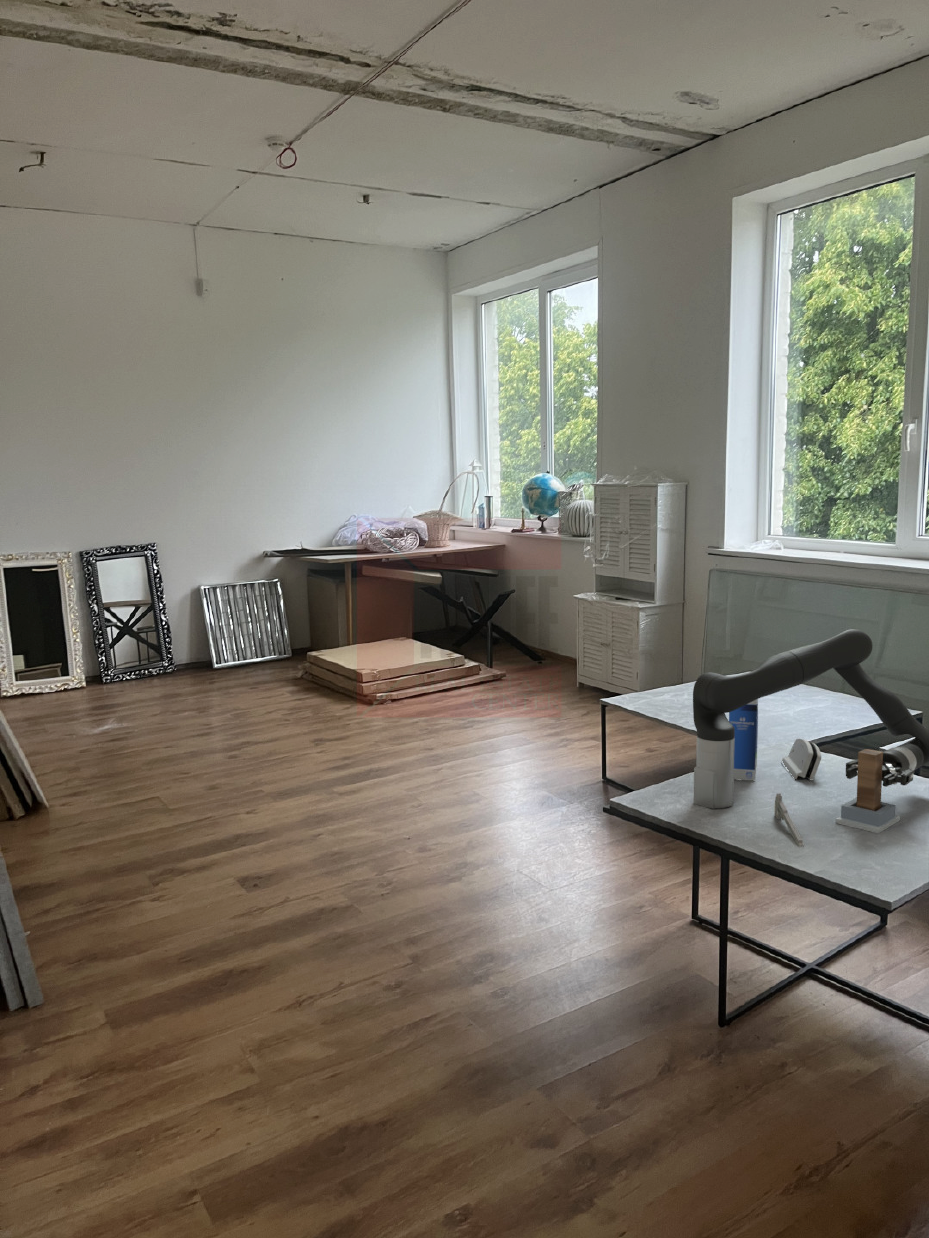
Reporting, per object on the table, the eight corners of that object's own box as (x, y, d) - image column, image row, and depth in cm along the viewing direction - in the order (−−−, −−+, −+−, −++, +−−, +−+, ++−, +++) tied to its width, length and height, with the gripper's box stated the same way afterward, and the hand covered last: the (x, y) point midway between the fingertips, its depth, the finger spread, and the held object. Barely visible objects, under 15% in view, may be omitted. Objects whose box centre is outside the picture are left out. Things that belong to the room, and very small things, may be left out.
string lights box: (729, 766, 262) (731, 678, 258) (757, 768, 259) (759, 679, 256) (727, 779, 249) (728, 687, 246) (756, 782, 247) (758, 689, 244)
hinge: (780, 762, 264) (793, 731, 263) (796, 768, 264) (809, 737, 262) (794, 780, 248) (808, 746, 246) (811, 786, 247) (825, 752, 246)
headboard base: (878, 833, 207) (879, 816, 207) (835, 822, 215) (836, 806, 214) (899, 820, 216) (900, 804, 215) (858, 810, 223) (858, 794, 222)
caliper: (774, 816, 221) (774, 791, 220) (778, 816, 221) (779, 791, 220) (799, 848, 200) (800, 820, 200) (804, 848, 200) (805, 820, 200)
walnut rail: (872, 821, 212) (875, 755, 210) (856, 817, 215) (858, 752, 213) (880, 817, 215) (882, 751, 213) (863, 813, 218) (865, 748, 216)
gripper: (866, 744, 228) (836, 757, 217) (925, 754, 218) (897, 768, 207) (865, 772, 229) (835, 787, 218) (924, 784, 219) (896, 800, 208)
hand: (866, 778), depth 213 cm, fingers open, 8 cm apart
